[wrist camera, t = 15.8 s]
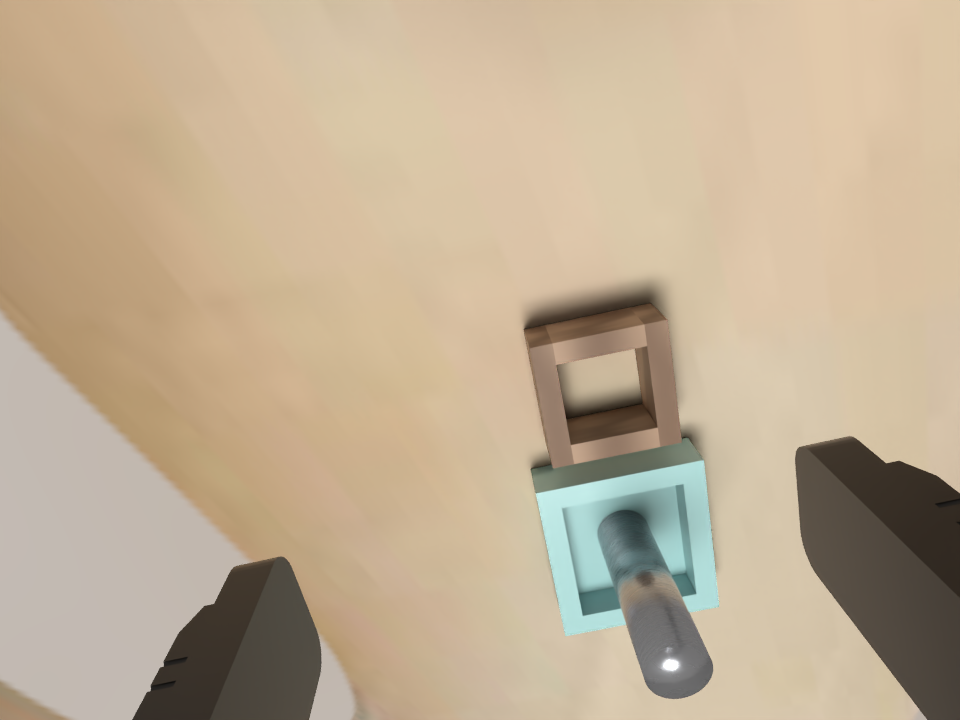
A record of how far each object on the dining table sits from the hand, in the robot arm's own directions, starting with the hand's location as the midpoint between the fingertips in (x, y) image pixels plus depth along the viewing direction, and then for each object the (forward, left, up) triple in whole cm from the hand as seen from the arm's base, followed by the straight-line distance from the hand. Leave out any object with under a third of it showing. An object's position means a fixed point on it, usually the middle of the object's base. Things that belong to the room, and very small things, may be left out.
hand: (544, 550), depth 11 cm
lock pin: (-6, +26, -35) cm, 44 cm away
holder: (-6, +13, -37) cm, 39 cm away
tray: (-6, +26, -36) cm, 45 cm away
